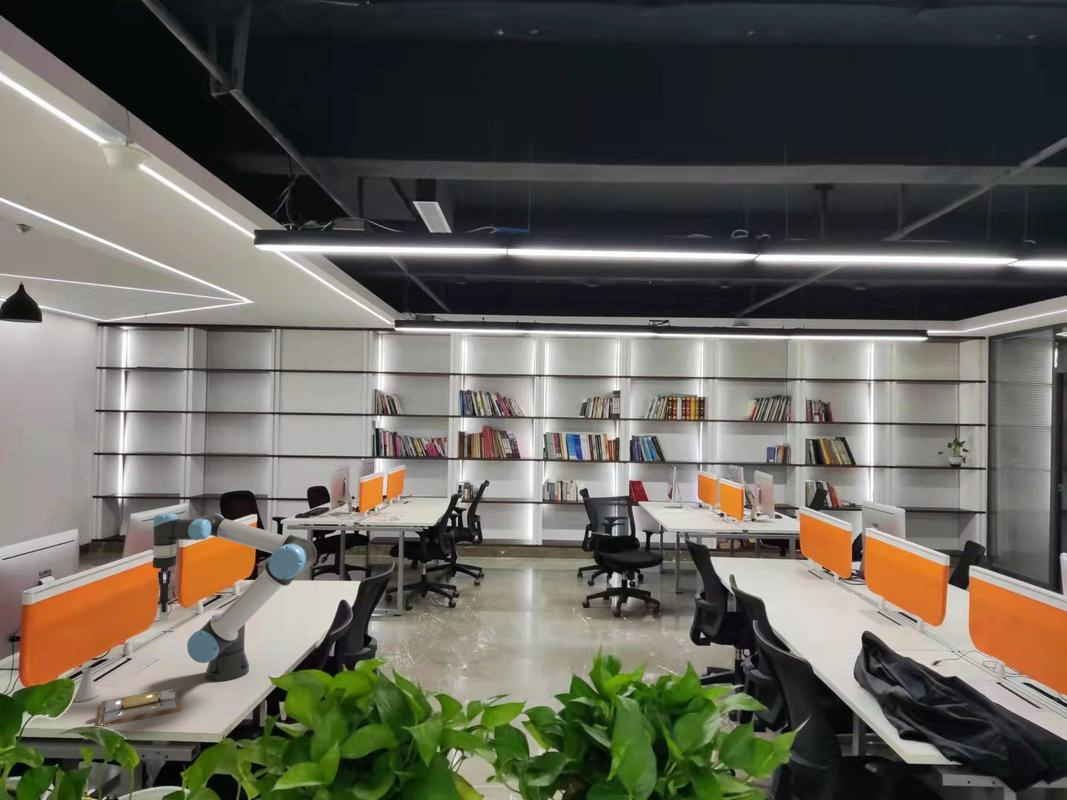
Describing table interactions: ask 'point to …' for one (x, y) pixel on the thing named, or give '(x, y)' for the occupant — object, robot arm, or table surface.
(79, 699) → the flask
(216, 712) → the table surface
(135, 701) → the gold silver metal bar
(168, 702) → the fixed leaf
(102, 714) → the board
